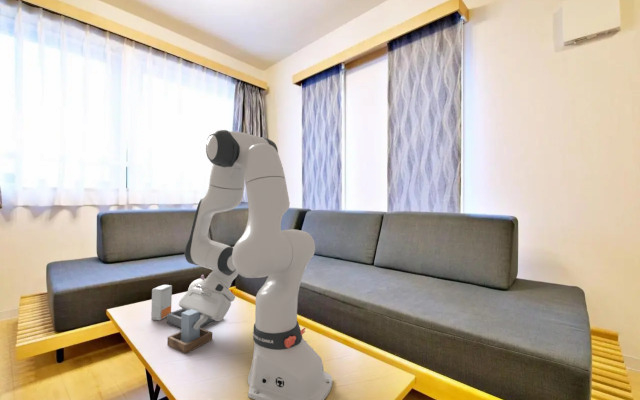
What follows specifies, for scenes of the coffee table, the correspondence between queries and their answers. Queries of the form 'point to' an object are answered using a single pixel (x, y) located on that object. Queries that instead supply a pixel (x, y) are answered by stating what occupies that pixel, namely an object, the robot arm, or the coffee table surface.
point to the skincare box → (161, 302)
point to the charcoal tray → (175, 319)
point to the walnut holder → (187, 347)
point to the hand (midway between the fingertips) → (188, 326)
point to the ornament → (197, 282)
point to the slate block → (189, 325)
